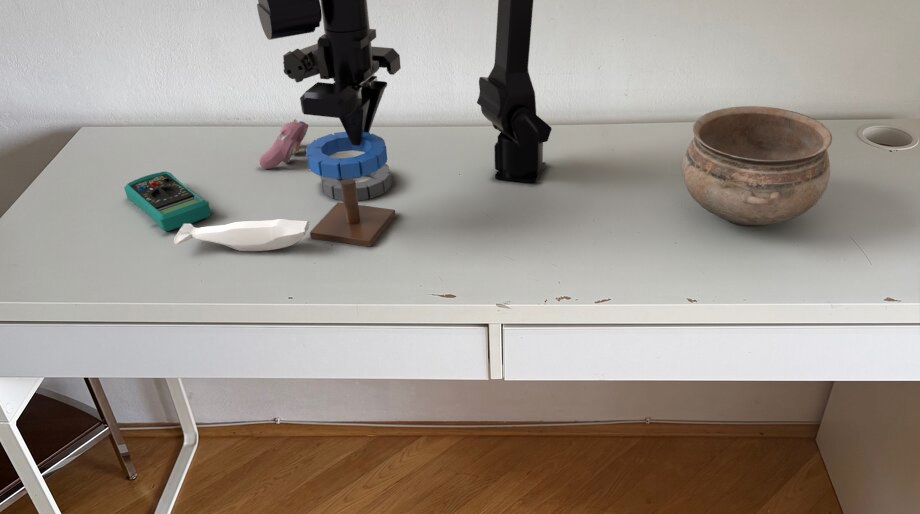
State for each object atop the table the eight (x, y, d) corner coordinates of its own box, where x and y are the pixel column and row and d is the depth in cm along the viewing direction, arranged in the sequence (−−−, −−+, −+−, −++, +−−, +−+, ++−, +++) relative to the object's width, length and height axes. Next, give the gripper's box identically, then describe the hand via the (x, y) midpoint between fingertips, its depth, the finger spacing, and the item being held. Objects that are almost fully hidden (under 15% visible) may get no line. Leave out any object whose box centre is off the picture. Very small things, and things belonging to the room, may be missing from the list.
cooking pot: (834, 265, 110) (856, 177, 103) (680, 258, 113) (691, 171, 106) (804, 176, 130) (821, 97, 123) (674, 172, 133) (683, 94, 125)
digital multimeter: (171, 183, 136) (166, 166, 134) (213, 218, 126) (209, 199, 125) (125, 199, 132) (120, 181, 131) (165, 235, 123) (160, 216, 121)
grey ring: (401, 173, 136) (400, 161, 135) (374, 204, 128) (373, 192, 127) (340, 166, 139) (338, 154, 137) (310, 196, 131) (308, 184, 130)
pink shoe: (282, 180, 139) (294, 144, 135) (255, 167, 138) (267, 130, 134) (304, 154, 147) (316, 119, 142) (279, 141, 146) (290, 106, 142)
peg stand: (395, 215, 125) (391, 170, 121) (370, 247, 118) (364, 200, 114) (338, 208, 127) (332, 163, 123) (310, 238, 121) (302, 192, 117)
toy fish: (306, 258, 116) (301, 232, 114) (175, 257, 118) (168, 231, 116) (315, 238, 121) (311, 212, 118) (189, 236, 122) (182, 211, 120)
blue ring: (398, 149, 120) (397, 135, 118) (367, 182, 112) (366, 168, 110) (329, 141, 122) (327, 128, 121) (294, 173, 114) (292, 159, 113)
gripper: (321, 0, 120) (335, 110, 129) (252, 44, 105) (274, 164, 115) (397, 5, 117) (406, 117, 126) (336, 51, 102) (351, 173, 112)
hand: (359, 141), depth 120 cm, fingers closed on blue ring, 2 cm apart
